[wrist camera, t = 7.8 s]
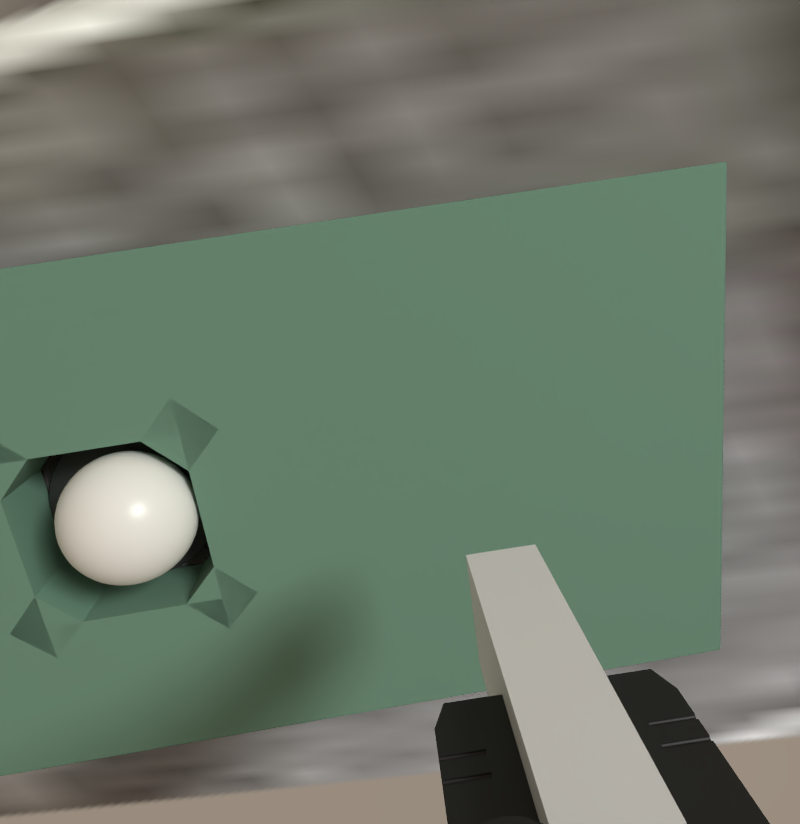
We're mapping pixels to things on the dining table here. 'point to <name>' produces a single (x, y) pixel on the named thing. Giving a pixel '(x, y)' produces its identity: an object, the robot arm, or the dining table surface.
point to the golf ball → (126, 518)
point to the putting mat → (363, 455)
